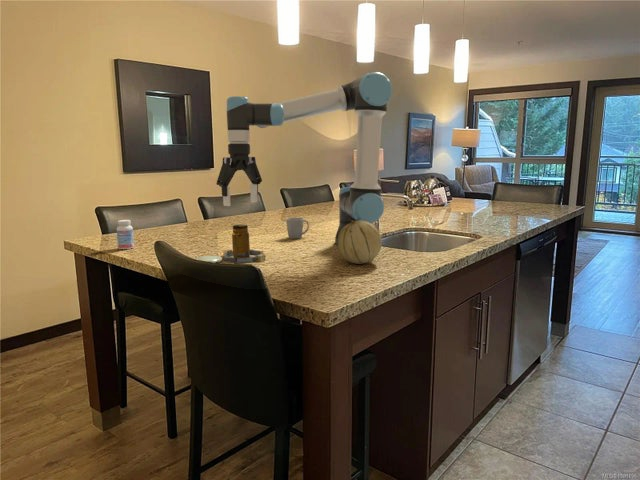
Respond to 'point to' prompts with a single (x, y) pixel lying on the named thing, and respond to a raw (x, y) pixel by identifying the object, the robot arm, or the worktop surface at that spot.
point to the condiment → (241, 241)
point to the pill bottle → (125, 235)
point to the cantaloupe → (359, 242)
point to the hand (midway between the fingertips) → (241, 204)
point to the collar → (258, 257)
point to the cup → (296, 227)
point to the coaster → (210, 258)
